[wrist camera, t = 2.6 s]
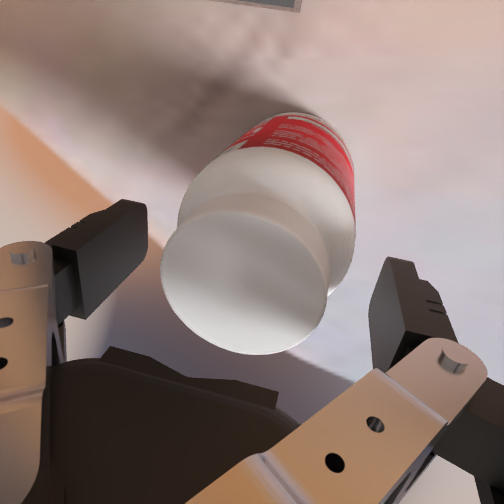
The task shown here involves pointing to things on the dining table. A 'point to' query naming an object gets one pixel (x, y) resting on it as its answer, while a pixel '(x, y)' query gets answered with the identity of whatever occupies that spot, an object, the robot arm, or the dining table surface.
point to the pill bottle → (264, 236)
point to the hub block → (269, 4)
